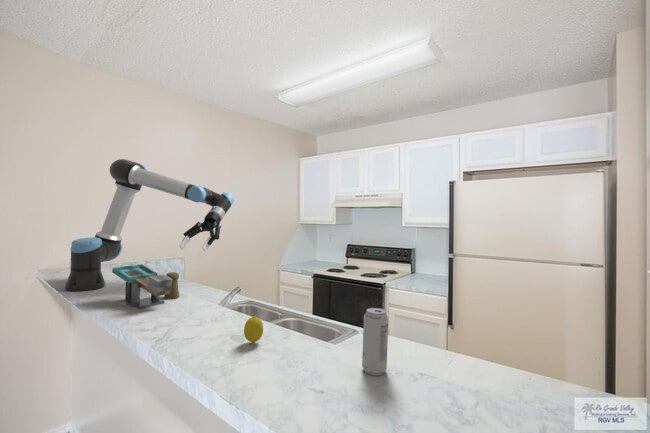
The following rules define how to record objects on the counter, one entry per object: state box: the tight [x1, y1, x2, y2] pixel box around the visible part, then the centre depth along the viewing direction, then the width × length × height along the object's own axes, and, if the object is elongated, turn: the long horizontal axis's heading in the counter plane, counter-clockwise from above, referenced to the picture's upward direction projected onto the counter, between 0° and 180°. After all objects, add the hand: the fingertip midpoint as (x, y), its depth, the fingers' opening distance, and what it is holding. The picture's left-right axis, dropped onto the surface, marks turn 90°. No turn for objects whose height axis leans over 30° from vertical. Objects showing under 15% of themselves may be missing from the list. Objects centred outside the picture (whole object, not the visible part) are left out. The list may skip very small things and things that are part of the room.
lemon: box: [243, 315, 264, 344], centre depth 94 cm, size 6×6×8 cm
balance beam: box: [111, 264, 173, 297], centre depth 130 cm, size 12×27×7 cm, turn 59°
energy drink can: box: [361, 307, 389, 377], centre depth 79 cm, size 6×6×15 cm
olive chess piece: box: [163, 271, 180, 300], centre depth 140 cm, size 6×6×11 cm
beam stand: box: [124, 281, 166, 310], centre depth 131 cm, size 10×16×9 cm, turn 59°
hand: (192, 248), depth 150 cm, fingers open, 13 cm apart
